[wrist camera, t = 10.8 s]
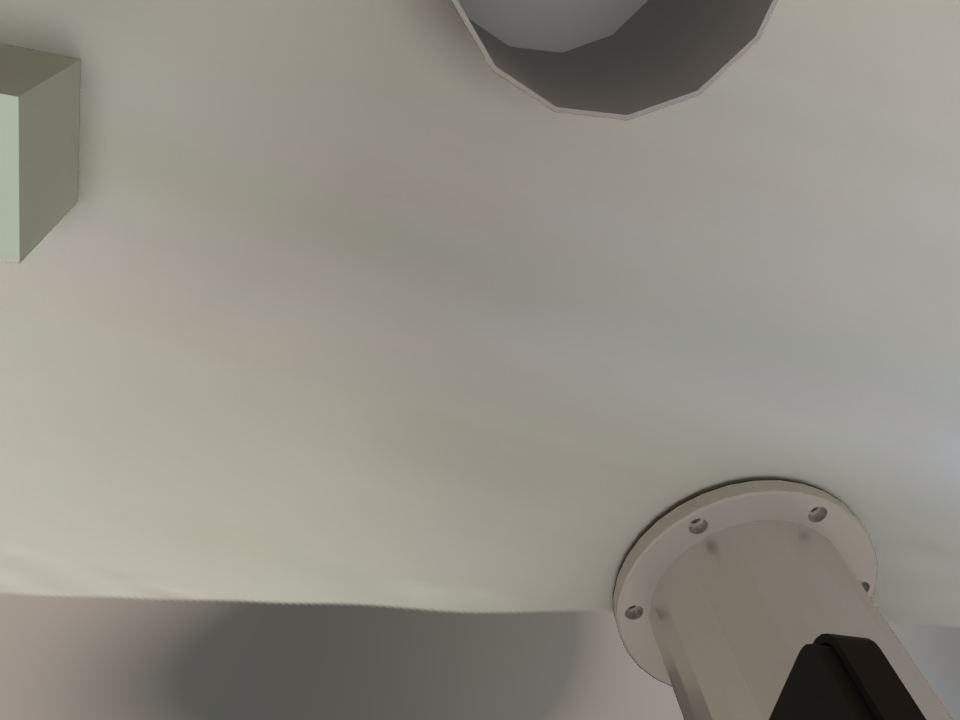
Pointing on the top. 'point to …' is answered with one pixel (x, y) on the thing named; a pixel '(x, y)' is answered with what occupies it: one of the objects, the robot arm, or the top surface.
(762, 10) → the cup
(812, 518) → the robot arm
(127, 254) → the top surface
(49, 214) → the sage block
